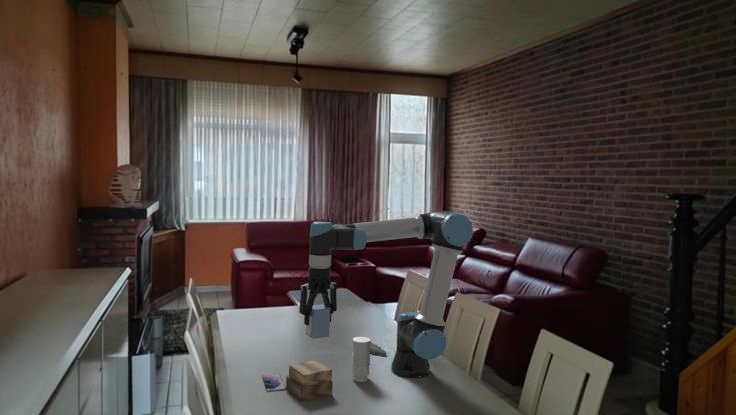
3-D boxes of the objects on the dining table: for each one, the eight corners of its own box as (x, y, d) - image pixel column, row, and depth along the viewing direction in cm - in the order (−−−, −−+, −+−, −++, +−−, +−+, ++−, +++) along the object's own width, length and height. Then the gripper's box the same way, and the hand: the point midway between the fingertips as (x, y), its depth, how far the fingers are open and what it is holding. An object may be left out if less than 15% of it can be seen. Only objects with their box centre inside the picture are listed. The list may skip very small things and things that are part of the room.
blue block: (321, 332, 188) (322, 304, 187) (329, 336, 183) (330, 308, 182) (305, 334, 184) (306, 305, 184) (313, 338, 179) (314, 309, 179)
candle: (368, 375, 202) (370, 336, 202) (369, 382, 195) (371, 342, 195) (350, 375, 202) (352, 336, 201) (351, 382, 195) (352, 342, 194)
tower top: (316, 370, 193) (316, 359, 193) (331, 380, 184) (332, 369, 184) (288, 376, 187) (289, 365, 186) (303, 386, 178) (303, 375, 177)
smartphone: (266, 391, 184) (261, 375, 198) (266, 393, 184) (261, 377, 198) (286, 388, 186) (280, 373, 200) (286, 391, 186) (280, 375, 200)
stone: (392, 350, 227) (373, 353, 221) (392, 358, 227) (373, 361, 222) (370, 338, 241) (352, 340, 235) (370, 345, 241) (351, 347, 236)
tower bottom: (316, 383, 194) (316, 370, 193) (332, 395, 183) (332, 381, 183) (286, 389, 187) (286, 375, 187) (300, 402, 177) (300, 387, 177)
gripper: (338, 263, 191) (335, 326, 192) (289, 266, 180) (287, 333, 182) (349, 266, 184) (346, 332, 186) (299, 270, 174) (297, 339, 175)
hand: (317, 332), depth 184 cm, fingers closed on blue block, 6 cm apart
